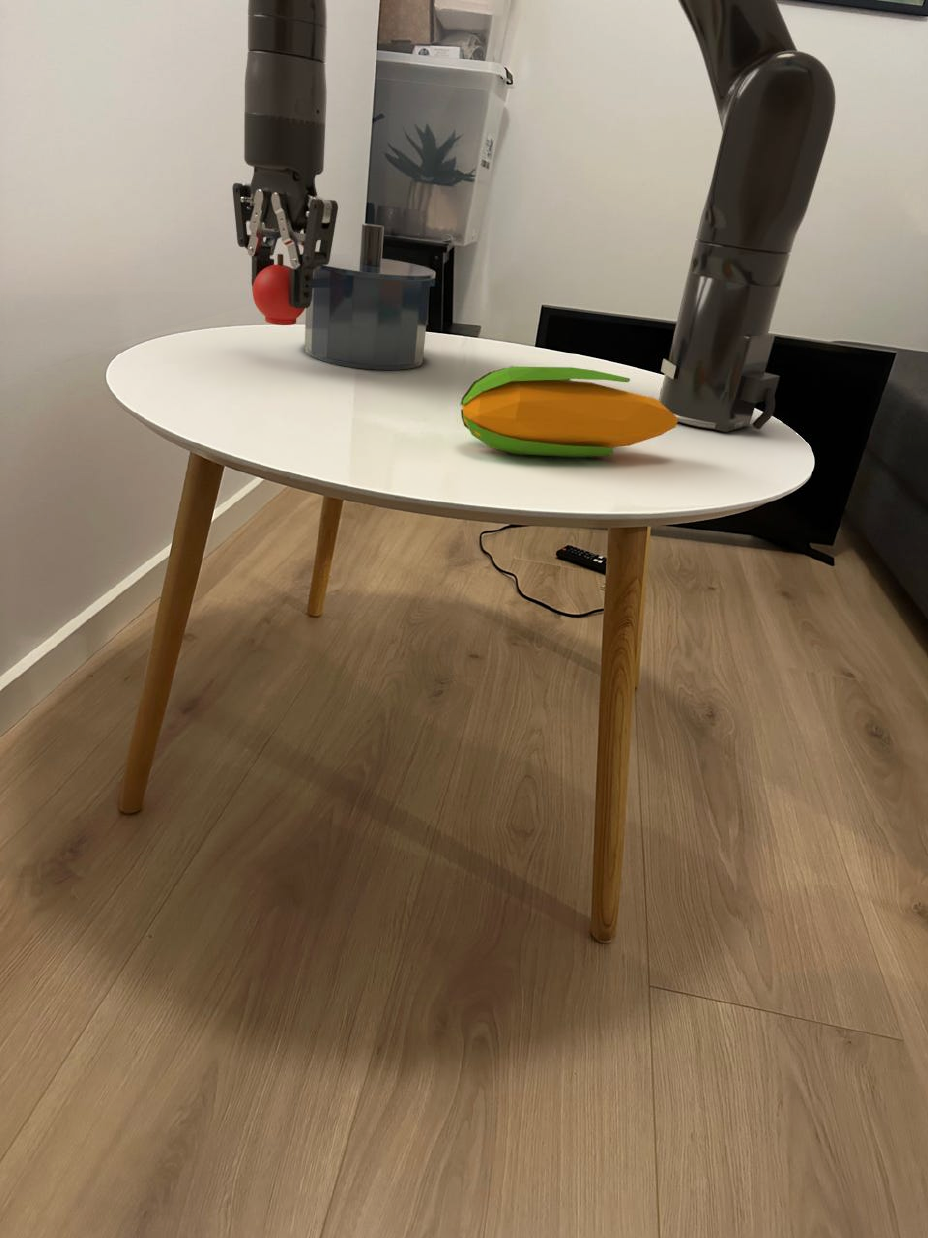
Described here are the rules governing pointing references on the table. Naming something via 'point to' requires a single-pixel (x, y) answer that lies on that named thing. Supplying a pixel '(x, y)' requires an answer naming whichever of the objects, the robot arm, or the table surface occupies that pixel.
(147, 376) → the table surface
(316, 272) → the pot
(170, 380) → the table surface
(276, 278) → the apple
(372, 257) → the pot lid
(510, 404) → the corn
